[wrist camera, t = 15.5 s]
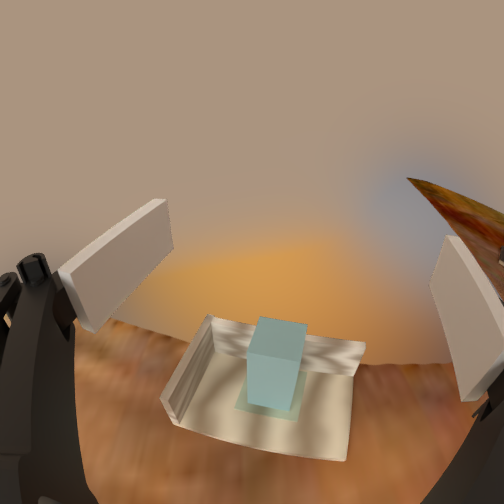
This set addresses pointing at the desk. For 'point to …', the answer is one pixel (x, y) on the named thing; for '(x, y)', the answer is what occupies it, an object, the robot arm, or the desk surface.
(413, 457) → the desk surface
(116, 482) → the desk surface
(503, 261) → the hardcover book
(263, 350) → the teal block
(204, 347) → the arena
